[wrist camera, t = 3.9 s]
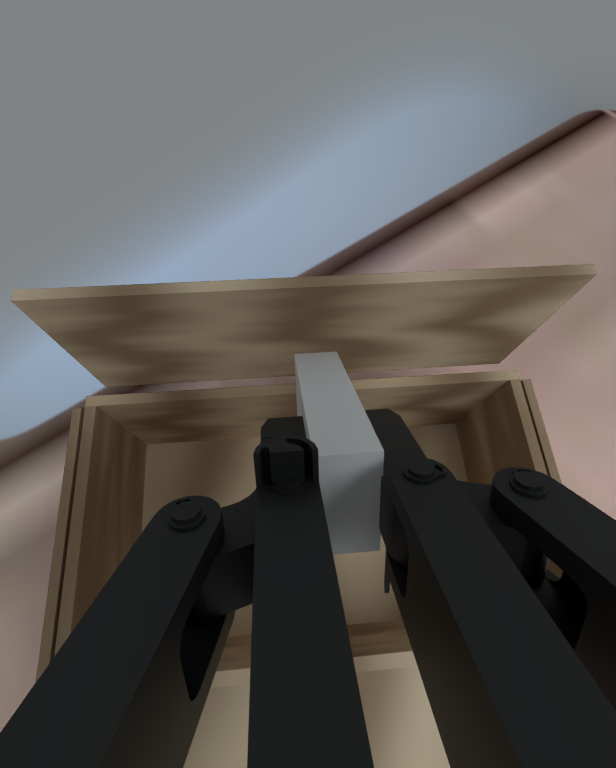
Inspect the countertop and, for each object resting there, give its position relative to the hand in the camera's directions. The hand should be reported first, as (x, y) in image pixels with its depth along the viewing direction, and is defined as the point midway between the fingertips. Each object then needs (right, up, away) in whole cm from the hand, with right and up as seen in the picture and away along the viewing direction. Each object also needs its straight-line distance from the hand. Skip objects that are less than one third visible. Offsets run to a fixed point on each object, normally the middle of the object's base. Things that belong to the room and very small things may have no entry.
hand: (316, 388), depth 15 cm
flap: (0, +1, +5) cm, 6 cm away
